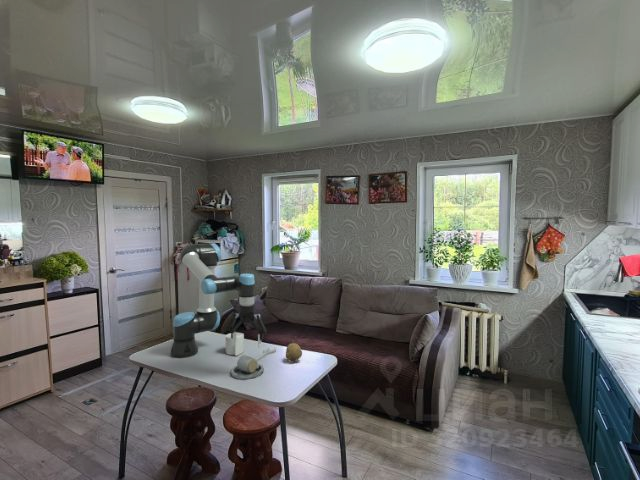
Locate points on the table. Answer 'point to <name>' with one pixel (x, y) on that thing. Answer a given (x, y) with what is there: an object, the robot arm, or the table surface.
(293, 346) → the natural sponge
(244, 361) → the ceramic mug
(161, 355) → the table surface
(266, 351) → the adjustable wrench
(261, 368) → the flange seat
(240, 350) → the toilet tissue
